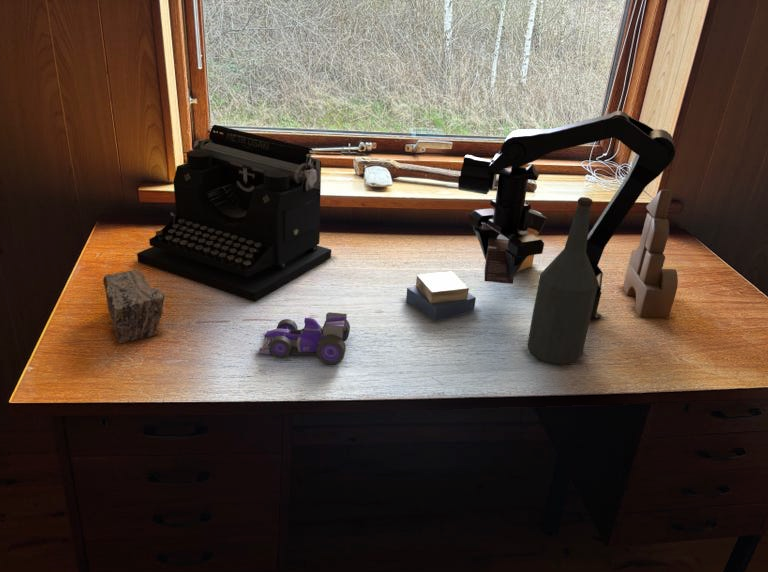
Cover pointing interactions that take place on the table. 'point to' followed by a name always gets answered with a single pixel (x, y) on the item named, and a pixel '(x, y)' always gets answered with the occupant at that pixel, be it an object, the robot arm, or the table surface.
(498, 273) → the box
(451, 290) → the stack top
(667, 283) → the wooden toy
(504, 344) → the table surface
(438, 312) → the stack base
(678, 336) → the table surface
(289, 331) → the toy race car
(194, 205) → the typewriter
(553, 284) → the bottle
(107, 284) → the stone block
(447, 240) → the table surface
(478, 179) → the robot arm
